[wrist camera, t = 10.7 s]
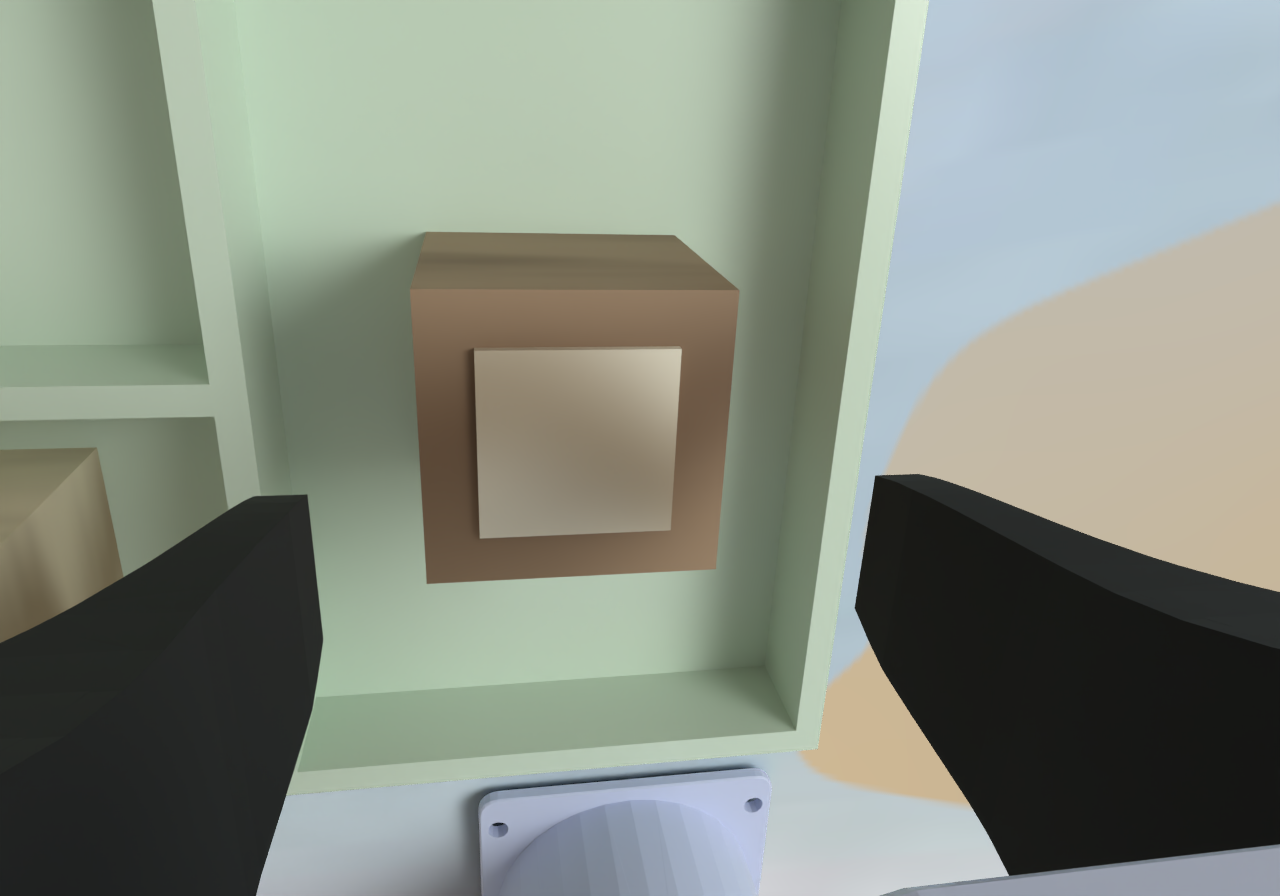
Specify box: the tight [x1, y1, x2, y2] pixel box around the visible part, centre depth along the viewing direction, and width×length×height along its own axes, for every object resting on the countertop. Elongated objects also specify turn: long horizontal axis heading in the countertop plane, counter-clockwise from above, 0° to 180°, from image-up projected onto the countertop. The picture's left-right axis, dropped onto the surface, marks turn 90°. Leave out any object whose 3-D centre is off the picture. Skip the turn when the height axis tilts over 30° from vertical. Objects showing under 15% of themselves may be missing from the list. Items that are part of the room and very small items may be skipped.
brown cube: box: [410, 232, 740, 584], centre depth 17 cm, size 5×5×5 cm
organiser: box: [0, 0, 929, 795], centre depth 17 cm, size 18×24×3 cm
